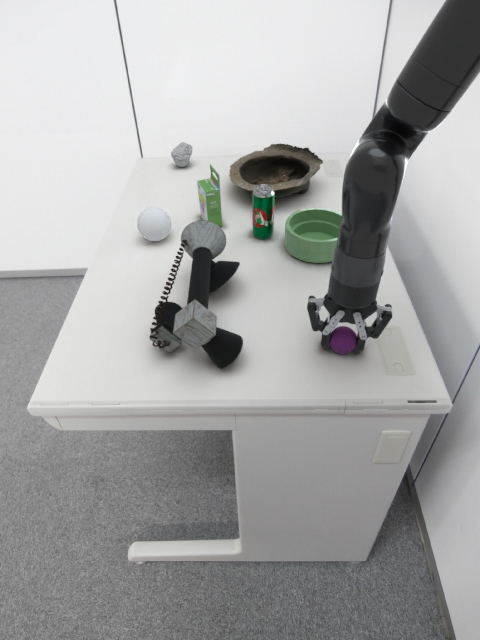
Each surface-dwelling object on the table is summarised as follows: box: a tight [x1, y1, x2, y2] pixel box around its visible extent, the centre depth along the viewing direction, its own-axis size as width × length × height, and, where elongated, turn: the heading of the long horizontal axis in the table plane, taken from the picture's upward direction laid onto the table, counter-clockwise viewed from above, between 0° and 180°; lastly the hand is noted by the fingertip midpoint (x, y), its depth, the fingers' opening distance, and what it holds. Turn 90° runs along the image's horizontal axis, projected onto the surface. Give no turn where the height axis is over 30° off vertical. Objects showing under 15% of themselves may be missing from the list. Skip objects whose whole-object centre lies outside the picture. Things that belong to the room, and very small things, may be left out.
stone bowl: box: [228, 143, 324, 198], centre depth 120 cm, size 25×25×9 cm
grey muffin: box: [170, 141, 193, 168], centre depth 134 cm, size 6×7×7 cm
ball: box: [136, 206, 172, 242], centre depth 104 cm, size 8×8×8 cm
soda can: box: [251, 184, 276, 240], centre depth 102 cm, size 5×5×12 cm
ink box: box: [196, 163, 223, 227], centre depth 107 cm, size 7×4×13 cm, turn 20°
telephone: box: [149, 219, 244, 369], centre depth 82 cm, size 15×13×30 cm
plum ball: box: [329, 325, 357, 355], centre depth 77 cm, size 5×5×5 cm
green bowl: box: [283, 207, 342, 264], centre depth 100 cm, size 15×15×6 cm
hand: (341, 347), depth 78 cm, fingers closed on plum ball, 4 cm apart
